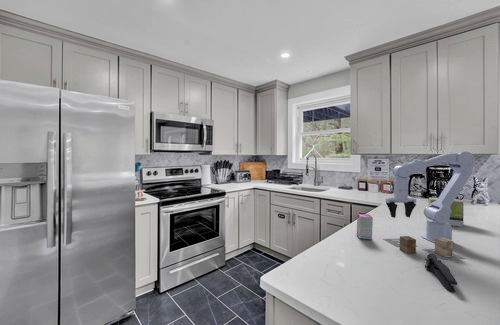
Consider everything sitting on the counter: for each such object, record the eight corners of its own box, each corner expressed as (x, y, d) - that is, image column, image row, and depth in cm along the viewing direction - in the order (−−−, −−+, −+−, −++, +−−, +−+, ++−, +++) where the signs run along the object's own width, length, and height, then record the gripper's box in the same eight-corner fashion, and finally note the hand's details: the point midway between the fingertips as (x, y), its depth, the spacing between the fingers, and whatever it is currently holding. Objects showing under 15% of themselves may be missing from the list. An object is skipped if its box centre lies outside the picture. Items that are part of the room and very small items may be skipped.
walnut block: (408, 249, 98) (408, 236, 97) (415, 253, 94) (416, 239, 93) (399, 250, 97) (399, 236, 97) (406, 254, 93) (407, 239, 93)
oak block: (441, 251, 96) (442, 237, 96) (452, 255, 92) (452, 240, 92) (434, 252, 95) (434, 238, 94) (444, 256, 91) (445, 241, 91)
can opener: (420, 265, 84) (421, 250, 84) (444, 268, 81) (444, 253, 81) (437, 290, 68) (438, 272, 68) (467, 296, 65) (468, 277, 65)
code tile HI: (443, 248, 99) (443, 248, 99) (466, 259, 89) (466, 259, 89) (421, 249, 98) (421, 249, 98) (443, 260, 88) (443, 259, 88)
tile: (401, 238, 111) (401, 238, 111) (418, 246, 101) (418, 246, 101) (382, 239, 110) (382, 238, 110) (397, 247, 100) (397, 247, 100)
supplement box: (372, 240, 108) (373, 216, 108) (359, 239, 109) (359, 216, 109) (368, 236, 114) (369, 213, 113) (356, 235, 115) (356, 213, 115)
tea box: (459, 223, 138) (459, 199, 137) (463, 227, 129) (464, 201, 129) (428, 219, 146) (428, 196, 145) (430, 223, 137) (430, 199, 137)
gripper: (392, 191, 107) (392, 219, 107) (421, 190, 108) (420, 219, 108) (383, 188, 114) (382, 215, 114) (410, 188, 115) (409, 215, 115)
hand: (400, 217), depth 112 cm, fingers open, 7 cm apart
